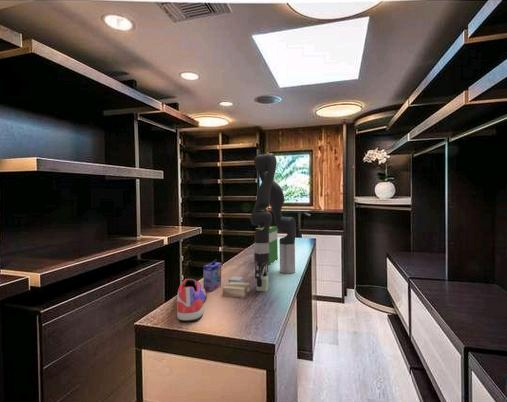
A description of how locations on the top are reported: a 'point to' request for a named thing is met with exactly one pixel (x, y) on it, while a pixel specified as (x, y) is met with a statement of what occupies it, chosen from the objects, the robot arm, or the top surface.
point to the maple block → (236, 289)
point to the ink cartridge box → (212, 276)
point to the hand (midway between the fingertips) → (261, 284)
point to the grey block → (236, 279)
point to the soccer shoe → (190, 300)
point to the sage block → (263, 284)
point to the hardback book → (272, 244)
